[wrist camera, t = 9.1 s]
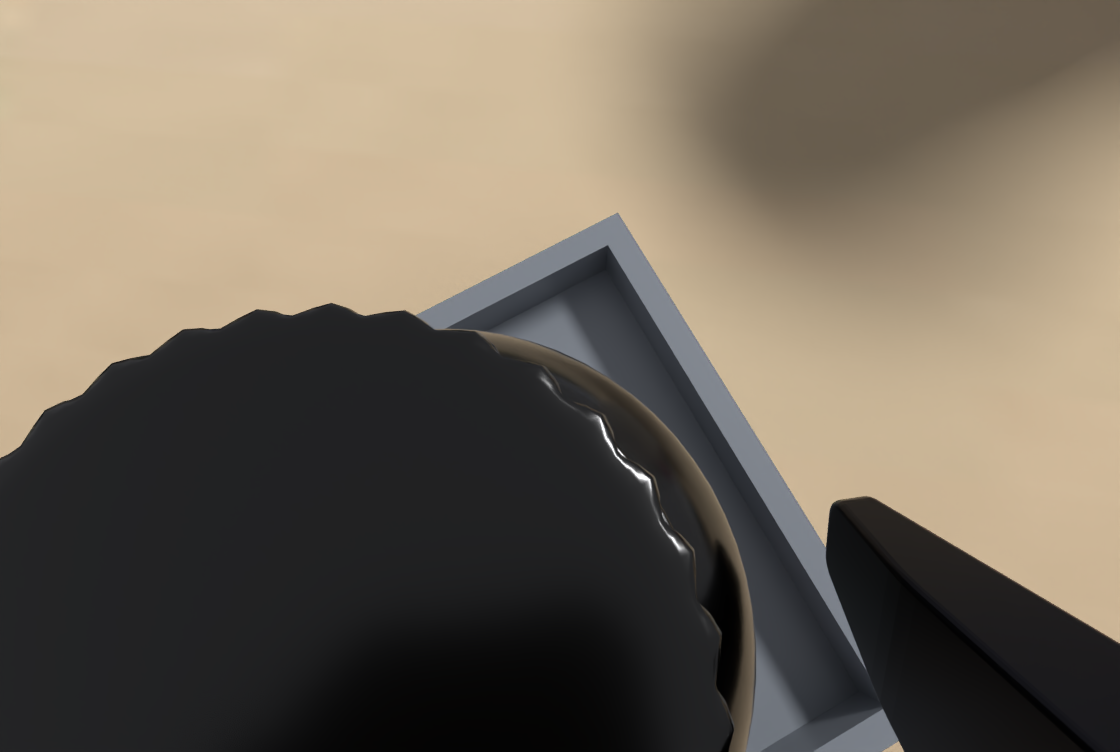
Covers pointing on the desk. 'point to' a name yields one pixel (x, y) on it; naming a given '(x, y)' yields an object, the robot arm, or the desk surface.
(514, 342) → the supplement bottle
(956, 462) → the desk surface
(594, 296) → the tray
